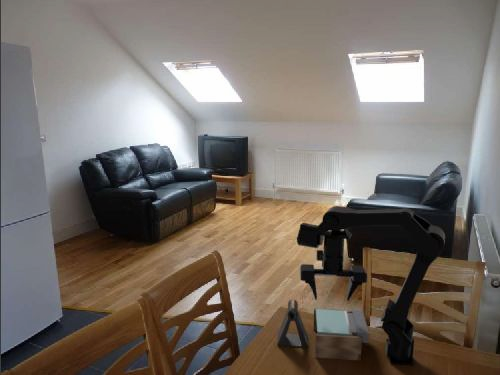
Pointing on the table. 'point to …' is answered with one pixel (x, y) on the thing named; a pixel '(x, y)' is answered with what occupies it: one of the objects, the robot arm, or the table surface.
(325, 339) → the trapdoor frame
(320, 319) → the trapdoor
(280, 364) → the table surface
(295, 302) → the phone stand
